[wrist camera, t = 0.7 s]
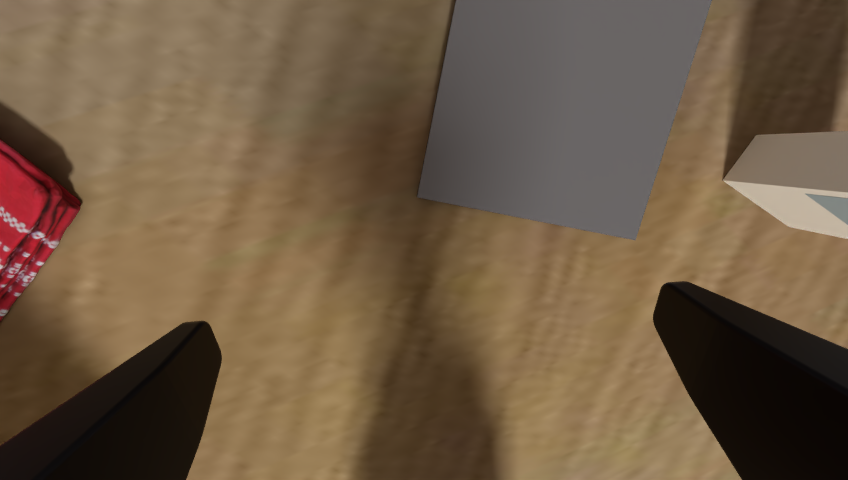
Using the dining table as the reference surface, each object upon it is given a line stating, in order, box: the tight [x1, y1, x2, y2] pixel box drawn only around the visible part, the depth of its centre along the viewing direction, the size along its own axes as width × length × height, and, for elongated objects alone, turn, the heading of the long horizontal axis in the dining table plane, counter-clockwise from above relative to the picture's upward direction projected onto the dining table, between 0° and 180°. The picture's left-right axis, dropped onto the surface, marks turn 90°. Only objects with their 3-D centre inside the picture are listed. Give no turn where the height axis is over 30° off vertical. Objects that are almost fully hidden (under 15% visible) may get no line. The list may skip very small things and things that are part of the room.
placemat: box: [417, 0, 712, 240], centre depth 20 cm, size 20×12×1 cm, turn 169°
